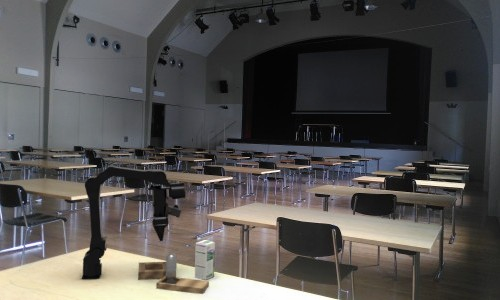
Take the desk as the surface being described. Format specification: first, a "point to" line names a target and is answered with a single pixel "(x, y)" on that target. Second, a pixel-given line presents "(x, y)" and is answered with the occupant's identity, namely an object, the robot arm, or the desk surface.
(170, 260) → the axle
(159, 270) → the socket block
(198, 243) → the syrup box
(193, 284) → the brown wooden board
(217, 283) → the desk surface
